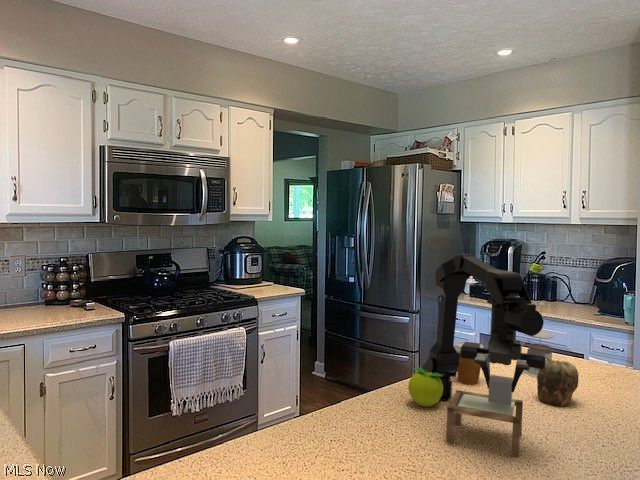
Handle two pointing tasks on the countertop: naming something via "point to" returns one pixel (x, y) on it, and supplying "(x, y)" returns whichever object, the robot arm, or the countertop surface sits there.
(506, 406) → the trapdoor
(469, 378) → the disposable coffee cup
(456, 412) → the frame
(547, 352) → the french press
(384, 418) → the countertop surface
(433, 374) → the fruit
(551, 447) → the countertop surface
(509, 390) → the gray cube
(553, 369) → the shell
